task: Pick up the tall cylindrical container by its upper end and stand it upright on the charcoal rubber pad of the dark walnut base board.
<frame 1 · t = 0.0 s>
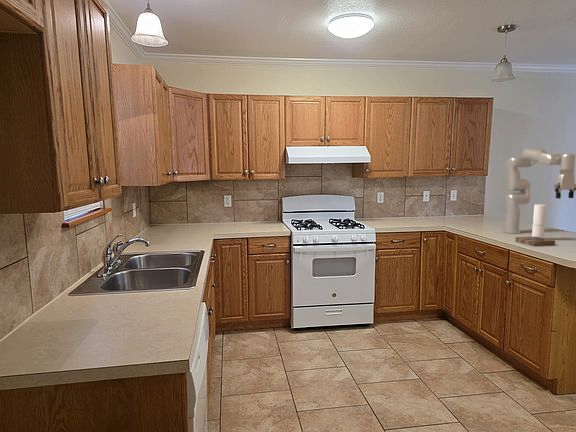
hand: (564, 198, 248), 31 cm above the worktop, tool pointing down, fingers open, 9 cm apart
walnut base: (534, 243, 255), on the worktop
cylindrical container: (537, 239, 268), on the worktop
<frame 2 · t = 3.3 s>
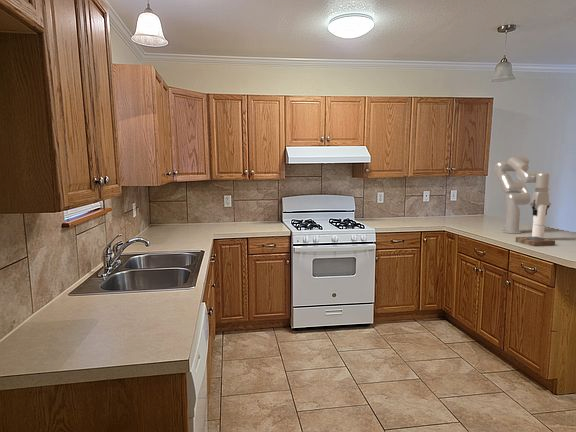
hand: (539, 214, 266), 18 cm above the worktop, tool pointing down, fingers closed on cylindrical container, 7 cm apart
cylindrical container: (537, 239, 268), on the worktop, touching gripper
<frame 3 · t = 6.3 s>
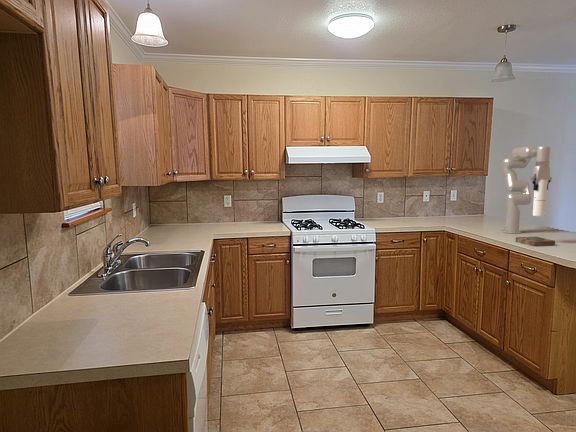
hand: (540, 190, 256), 36 cm above the worktop, tool pointing down, fingers closed on cylindrical container, 7 cm apart
cylindrical container: (538, 215, 258), point 18 cm above the worktop, touching gripper
when the fingers open (22 cm above the worktop, at t = 9.3 s): cylindrical container stays where it is, resting on walnut base.
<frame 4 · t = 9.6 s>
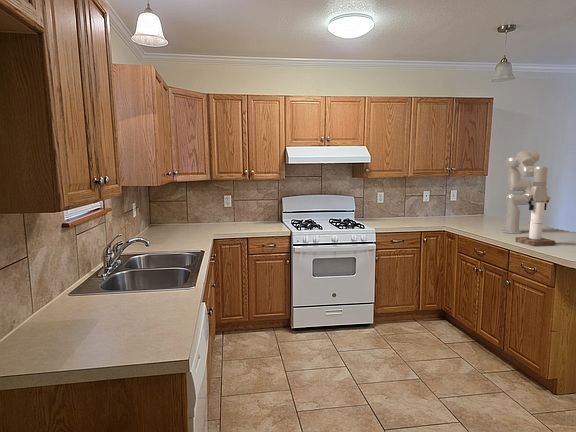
hand: (537, 210, 252), 23 cm above the worktop, tool pointing down, fingers open, 9 cm apart
cylindrical container: (535, 238, 254), point 3 cm above the worktop, touching walnut base
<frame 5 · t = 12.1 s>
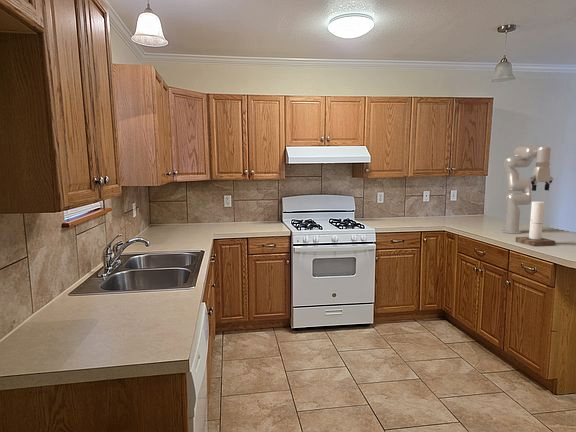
hand: (540, 190, 253), 36 cm above the worktop, tool pointing down, fingers open, 9 cm apart
nothing on the worktop moved.
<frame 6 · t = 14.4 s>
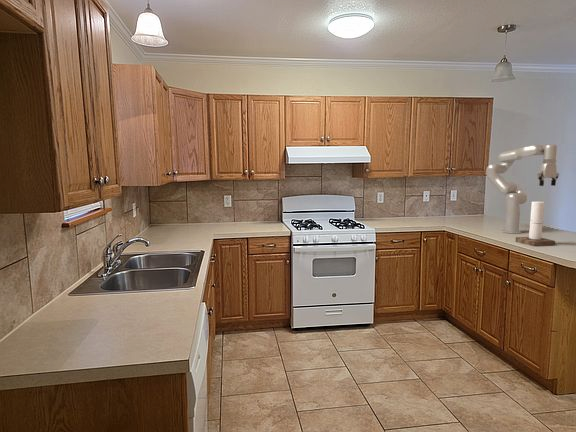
hand: (547, 185, 271), 38 cm above the worktop, tool pointing down, fingers open, 9 cm apart
nothing on the worktop moved.
at the end: cylindrical container inside the target area on the walnut base (0.1 cm from its centre), point 3.3 cm above the walnut base's base; cylindrical container tilted 0°; the gripper is holding nothing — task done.
